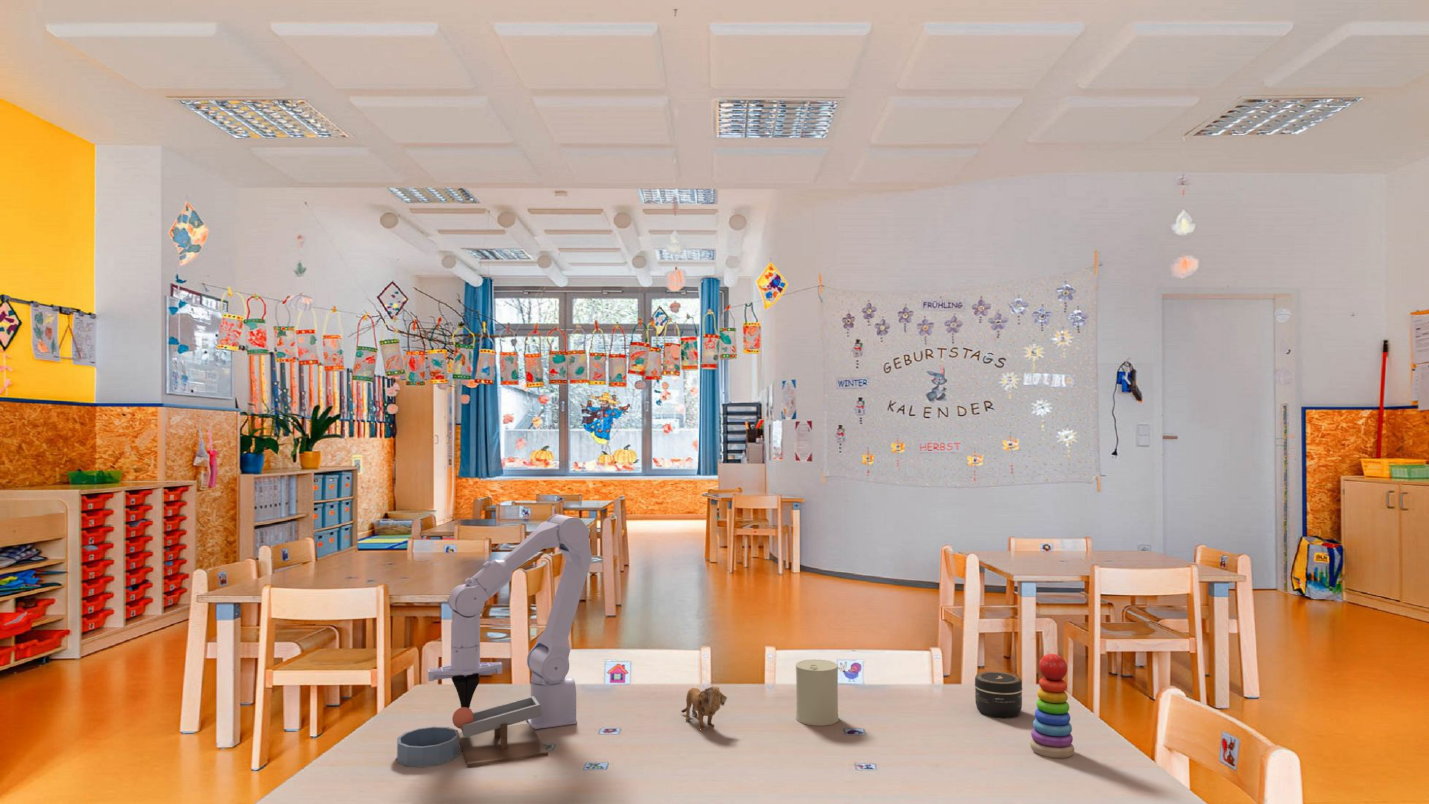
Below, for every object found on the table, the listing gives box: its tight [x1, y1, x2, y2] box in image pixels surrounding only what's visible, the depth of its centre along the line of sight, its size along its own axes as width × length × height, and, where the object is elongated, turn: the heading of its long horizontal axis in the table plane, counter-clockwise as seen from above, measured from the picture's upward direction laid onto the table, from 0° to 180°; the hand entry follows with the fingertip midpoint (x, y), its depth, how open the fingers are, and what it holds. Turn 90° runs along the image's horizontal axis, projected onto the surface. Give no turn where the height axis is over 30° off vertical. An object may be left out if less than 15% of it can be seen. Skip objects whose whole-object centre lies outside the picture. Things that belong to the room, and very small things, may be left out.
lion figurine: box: [680, 686, 728, 731], centre depth 185 cm, size 15×5×9 cm, turn 35°
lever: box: [460, 695, 542, 738], centre depth 175 cm, size 15×12×2 cm
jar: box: [974, 671, 1024, 719], centre depth 192 cm, size 10×10×8 cm
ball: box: [451, 707, 474, 730], centre depth 170 cm, size 4×4×4 cm
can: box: [795, 659, 840, 727], centre depth 188 cm, size 9×9×12 cm
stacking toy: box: [1029, 653, 1075, 759], centre depth 168 cm, size 8×8×19 cm
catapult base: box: [458, 722, 549, 768], centre depth 172 cm, size 15×18×5 cm
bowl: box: [396, 726, 460, 768], centre depth 167 cm, size 11×11×4 cm
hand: (465, 712), depth 177 cm, fingers closed
